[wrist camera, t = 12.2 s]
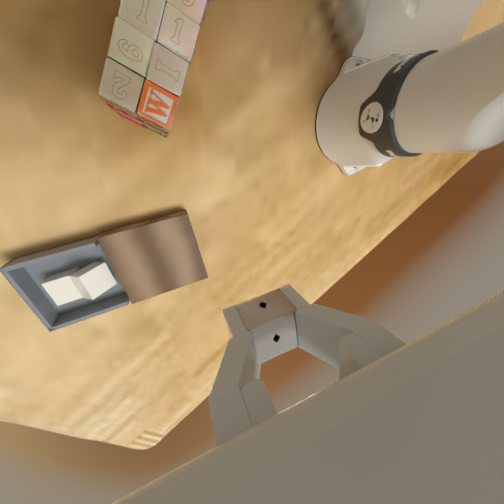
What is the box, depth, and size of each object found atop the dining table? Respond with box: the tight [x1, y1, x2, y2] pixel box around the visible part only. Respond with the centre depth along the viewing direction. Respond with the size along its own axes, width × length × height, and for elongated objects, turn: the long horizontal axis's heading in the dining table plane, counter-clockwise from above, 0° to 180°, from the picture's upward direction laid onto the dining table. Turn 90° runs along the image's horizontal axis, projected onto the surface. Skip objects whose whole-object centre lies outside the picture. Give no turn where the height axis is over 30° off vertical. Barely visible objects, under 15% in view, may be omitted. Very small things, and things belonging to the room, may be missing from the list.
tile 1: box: [41, 267, 83, 306], centre depth 33 cm, size 4×4×2 cm
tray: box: [0, 236, 130, 332], centre depth 33 cm, size 11×11×4 cm
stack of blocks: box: [98, 0, 210, 138], centre depth 23 cm, size 21×6×12 cm, turn 156°
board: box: [97, 210, 208, 304], centre depth 37 cm, size 13×12×3 cm
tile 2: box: [69, 261, 117, 300], centre depth 33 cm, size 4×4×2 cm
